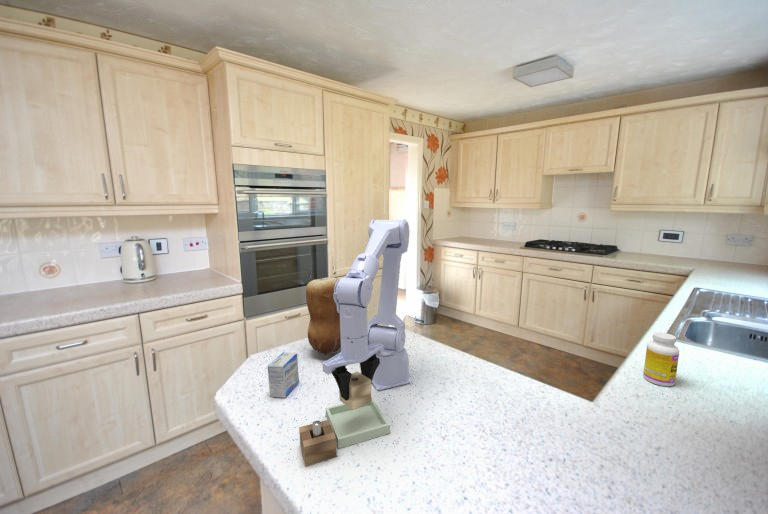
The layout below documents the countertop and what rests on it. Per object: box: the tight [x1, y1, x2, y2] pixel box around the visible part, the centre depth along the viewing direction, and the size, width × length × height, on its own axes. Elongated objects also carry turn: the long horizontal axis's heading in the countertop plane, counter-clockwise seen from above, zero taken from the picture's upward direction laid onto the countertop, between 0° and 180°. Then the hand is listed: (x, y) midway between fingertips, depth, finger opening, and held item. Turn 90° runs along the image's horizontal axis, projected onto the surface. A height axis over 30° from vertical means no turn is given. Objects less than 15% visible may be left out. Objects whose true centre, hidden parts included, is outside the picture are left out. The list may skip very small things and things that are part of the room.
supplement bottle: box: [642, 331, 680, 387], centre depth 88 cm, size 7×7×13 cm
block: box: [338, 371, 372, 410], centre depth 72 cm, size 5×5×5 cm
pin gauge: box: [311, 420, 321, 438], centre depth 65 cm, size 2×2×6 cm
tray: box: [325, 396, 391, 449], centre depth 73 cm, size 11×11×2 cm
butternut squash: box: [305, 276, 341, 355], centre depth 107 cm, size 14×13×25 cm
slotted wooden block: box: [298, 419, 338, 467], centre depth 65 cm, size 6×6×4 cm
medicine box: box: [267, 351, 300, 399], centre depth 87 cm, size 8×4×9 cm, turn 168°
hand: (355, 393), depth 72 cm, fingers closed on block, 5 cm apart
